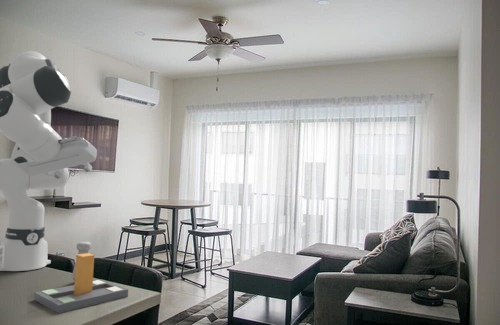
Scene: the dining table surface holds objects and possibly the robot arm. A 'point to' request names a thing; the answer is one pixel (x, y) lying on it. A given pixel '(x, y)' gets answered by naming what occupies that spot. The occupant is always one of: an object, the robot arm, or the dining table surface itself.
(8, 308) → the dining table surface
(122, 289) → the panel
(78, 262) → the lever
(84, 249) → the salt shaker
